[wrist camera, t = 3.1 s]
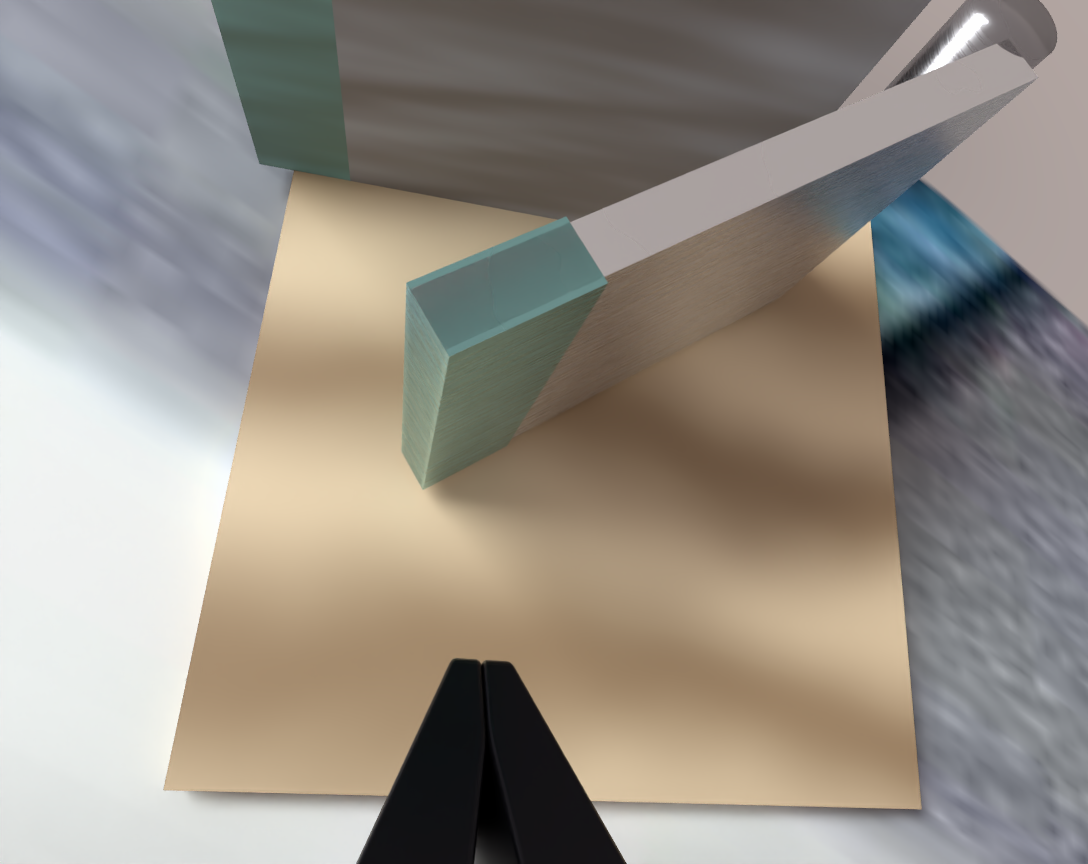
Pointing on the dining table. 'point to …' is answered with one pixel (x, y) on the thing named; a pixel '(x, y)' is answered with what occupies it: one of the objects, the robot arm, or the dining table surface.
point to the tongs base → (552, 423)
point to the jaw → (687, 249)
